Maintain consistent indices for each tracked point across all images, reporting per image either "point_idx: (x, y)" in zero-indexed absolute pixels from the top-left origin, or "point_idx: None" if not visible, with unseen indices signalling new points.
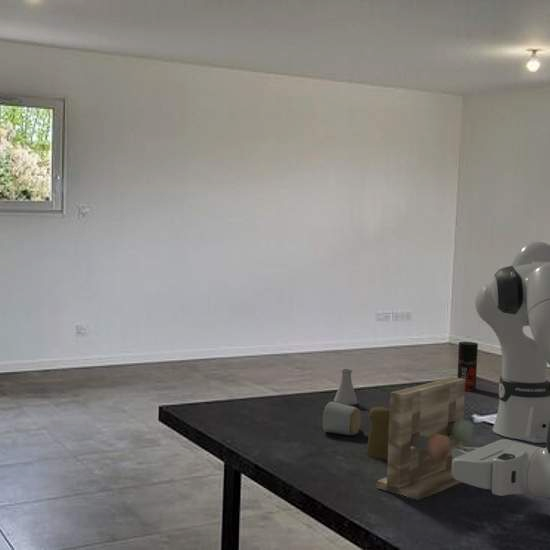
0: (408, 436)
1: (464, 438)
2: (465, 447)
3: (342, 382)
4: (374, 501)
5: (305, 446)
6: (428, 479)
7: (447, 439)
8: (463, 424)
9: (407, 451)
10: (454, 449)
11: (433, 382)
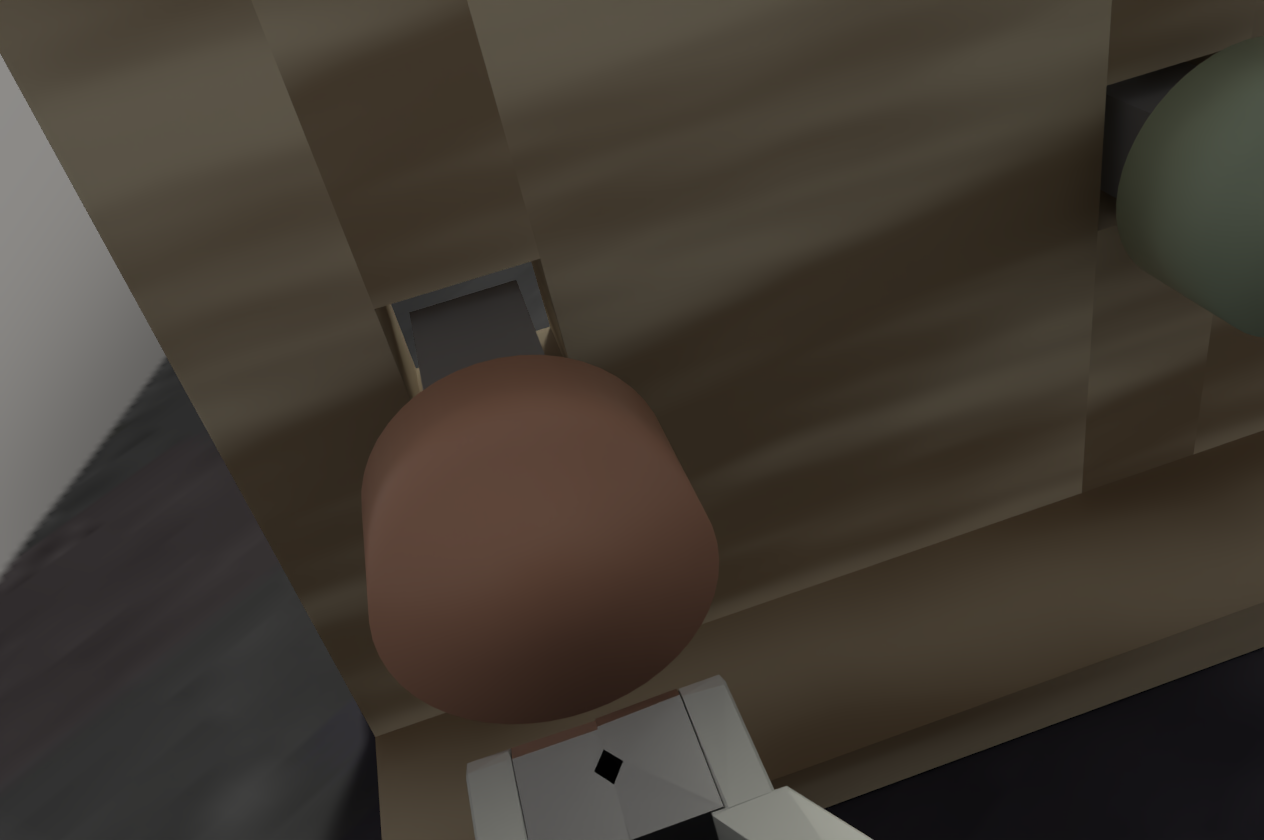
0: (324, 336)
1: (1251, 296)
2: (737, 774)
3: None
4: (128, 829)
5: None
6: (751, 653)
7: (605, 490)
8: (1258, 125)
9: None
10: (470, 796)
11: None
